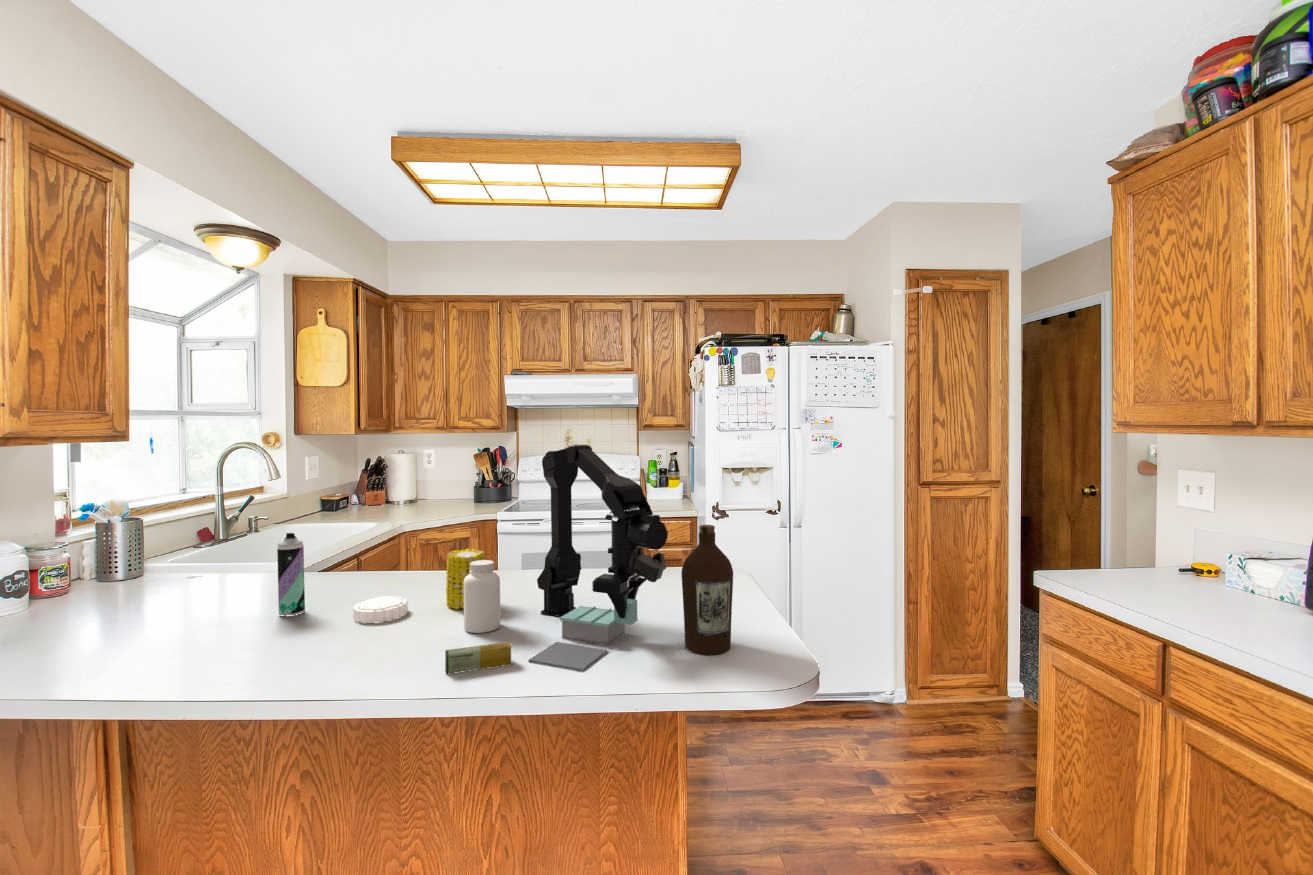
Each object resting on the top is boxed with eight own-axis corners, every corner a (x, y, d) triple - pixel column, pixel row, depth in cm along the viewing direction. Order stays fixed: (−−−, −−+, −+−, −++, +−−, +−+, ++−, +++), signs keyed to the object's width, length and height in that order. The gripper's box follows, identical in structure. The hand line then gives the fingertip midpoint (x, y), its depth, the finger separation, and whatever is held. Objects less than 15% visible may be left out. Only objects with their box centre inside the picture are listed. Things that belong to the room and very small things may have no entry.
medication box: (445, 676, 107) (444, 654, 107) (444, 670, 109) (444, 649, 109) (511, 665, 111) (511, 645, 111) (510, 660, 114) (509, 640, 114)
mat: (528, 661, 112) (528, 659, 112) (556, 643, 122) (556, 641, 122) (582, 671, 108) (582, 669, 108) (607, 651, 117) (607, 649, 117)
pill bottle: (507, 624, 134) (507, 560, 133) (483, 636, 126) (482, 568, 126) (481, 620, 137) (480, 557, 137) (456, 631, 130) (455, 564, 129)
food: (475, 603, 155) (487, 615, 147) (431, 600, 149) (440, 613, 140) (488, 547, 156) (500, 555, 148) (444, 542, 150) (455, 551, 141)
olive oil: (676, 639, 123) (675, 522, 123) (723, 635, 126) (722, 520, 125) (690, 659, 113) (689, 531, 112) (741, 653, 115) (740, 529, 115)
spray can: (273, 615, 141) (271, 534, 141) (294, 608, 147) (293, 530, 146) (288, 618, 139) (287, 535, 139) (310, 611, 144) (308, 531, 144)
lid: (560, 622, 124) (559, 599, 124) (580, 610, 132) (580, 588, 132) (625, 632, 118) (625, 607, 118) (642, 619, 126) (642, 596, 126)
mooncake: (361, 628, 132) (360, 613, 132) (347, 616, 142) (347, 601, 141) (414, 616, 140) (414, 602, 140) (398, 605, 149) (398, 591, 149)
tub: (562, 638, 125) (562, 619, 125) (581, 626, 132) (580, 608, 132) (607, 645, 120) (607, 626, 120) (624, 632, 128) (624, 614, 128)
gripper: (641, 554, 111) (642, 635, 111) (676, 537, 128) (676, 607, 129) (590, 550, 115) (591, 628, 116) (630, 533, 133) (631, 601, 133)
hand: (625, 615), depth 123 cm, fingers closed on lid, 3 cm apart
